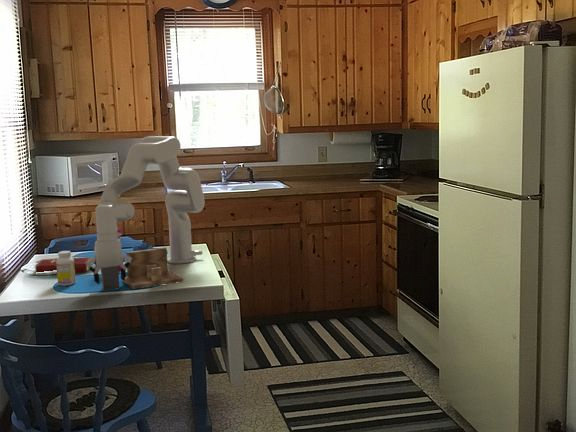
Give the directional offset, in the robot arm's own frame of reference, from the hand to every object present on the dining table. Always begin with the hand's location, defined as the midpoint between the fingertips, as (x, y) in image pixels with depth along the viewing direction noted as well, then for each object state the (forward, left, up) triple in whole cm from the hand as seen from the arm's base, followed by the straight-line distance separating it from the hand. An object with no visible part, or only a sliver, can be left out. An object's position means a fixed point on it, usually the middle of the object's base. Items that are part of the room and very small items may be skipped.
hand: (110, 281), depth 262 cm
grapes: (-19, -22, -3) cm, 29 cm away
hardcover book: (+9, -43, -4) cm, 44 cm away
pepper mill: (-10, -30, -3) cm, 32 cm away
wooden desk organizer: (-17, -2, -3) cm, 17 cm away
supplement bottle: (+13, -17, -3) cm, 22 cm away
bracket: (0, 0, -3) cm, 3 cm away
